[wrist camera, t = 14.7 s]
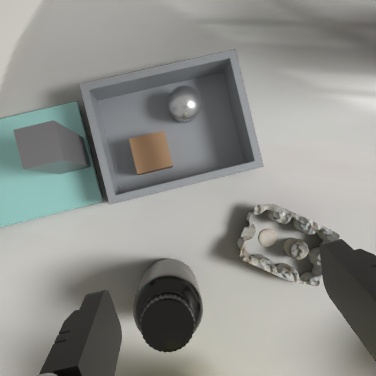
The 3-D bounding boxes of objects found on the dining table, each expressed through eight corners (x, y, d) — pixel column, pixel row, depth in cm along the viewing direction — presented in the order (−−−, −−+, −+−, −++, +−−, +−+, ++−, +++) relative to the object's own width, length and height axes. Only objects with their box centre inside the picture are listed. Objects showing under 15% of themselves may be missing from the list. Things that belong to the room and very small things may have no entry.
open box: (226, 66, 41) (235, 49, 36) (251, 169, 41) (263, 166, 36) (90, 97, 40) (79, 84, 35) (116, 202, 40) (109, 204, 35)
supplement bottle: (204, 268, 41) (219, 301, 29) (185, 320, 41) (192, 376, 29) (151, 249, 40) (144, 275, 28) (131, 302, 40) (116, 351, 28)
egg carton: (228, 252, 41) (235, 259, 37) (253, 196, 41) (262, 197, 37) (305, 285, 42) (320, 296, 38) (329, 231, 42) (346, 235, 38)
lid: (79, 104, 40) (44, 71, 29) (104, 201, 40) (79, 206, 29) (-56, 135, 39) (-148, 114, 28) (-30, 234, 39) (-110, 254, 28)
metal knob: (182, 86, 40) (183, 78, 37) (204, 107, 40) (207, 101, 37) (162, 108, 40) (162, 102, 37) (184, 129, 40) (186, 124, 37)
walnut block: (164, 134, 40) (164, 130, 37) (172, 167, 40) (172, 165, 37) (131, 142, 40) (128, 138, 37) (139, 175, 40) (137, 174, 37)
